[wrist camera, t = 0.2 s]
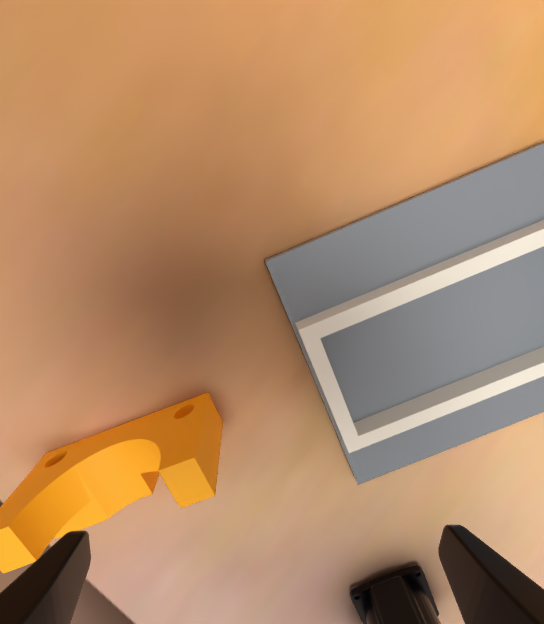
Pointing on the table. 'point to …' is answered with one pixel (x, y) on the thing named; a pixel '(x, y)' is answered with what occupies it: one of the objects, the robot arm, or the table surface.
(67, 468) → the pipe clamp
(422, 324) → the jig board
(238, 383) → the table surface
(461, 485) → the table surface
